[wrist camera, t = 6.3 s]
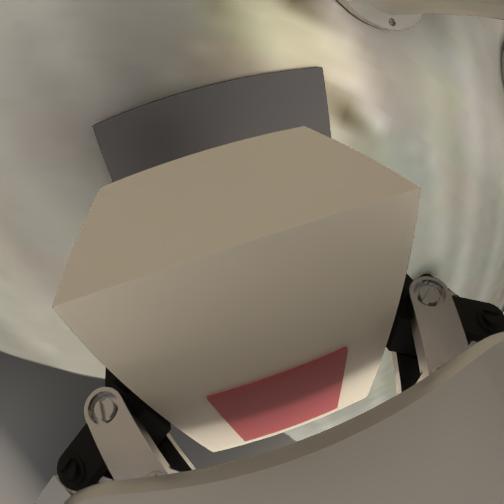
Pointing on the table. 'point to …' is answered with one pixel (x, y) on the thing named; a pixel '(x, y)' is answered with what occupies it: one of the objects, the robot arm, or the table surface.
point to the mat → (212, 119)
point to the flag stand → (503, 64)
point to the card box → (244, 282)
